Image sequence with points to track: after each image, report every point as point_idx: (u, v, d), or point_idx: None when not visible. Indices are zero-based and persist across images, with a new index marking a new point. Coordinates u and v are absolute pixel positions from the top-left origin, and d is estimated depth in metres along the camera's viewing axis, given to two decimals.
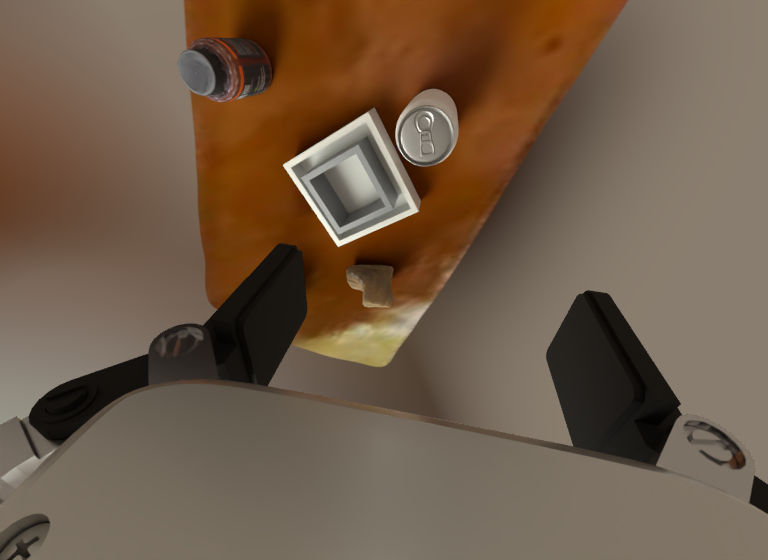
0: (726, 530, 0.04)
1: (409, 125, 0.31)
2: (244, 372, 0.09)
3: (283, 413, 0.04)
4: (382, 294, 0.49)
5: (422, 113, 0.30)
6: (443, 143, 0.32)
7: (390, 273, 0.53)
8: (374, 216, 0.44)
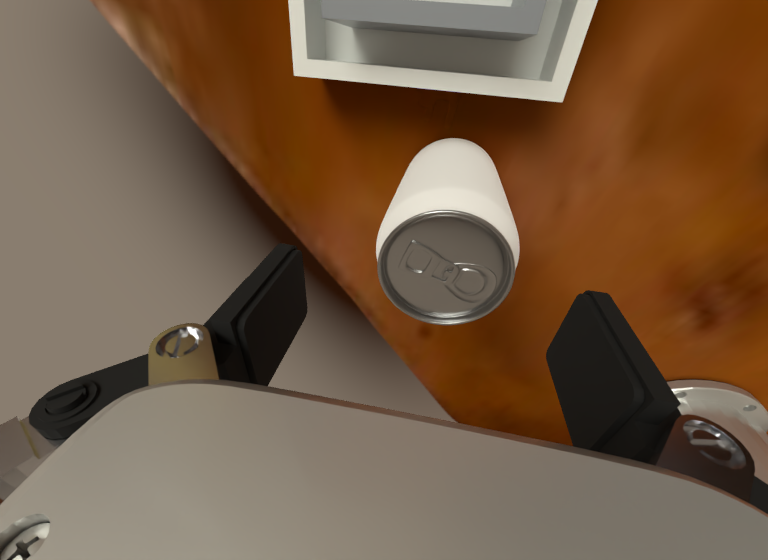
0: (726, 530, 0.04)
1: (487, 258, 0.13)
2: (244, 372, 0.09)
3: (283, 413, 0.04)
4: None
5: (488, 290, 0.14)
6: (407, 290, 0.14)
7: None
8: None
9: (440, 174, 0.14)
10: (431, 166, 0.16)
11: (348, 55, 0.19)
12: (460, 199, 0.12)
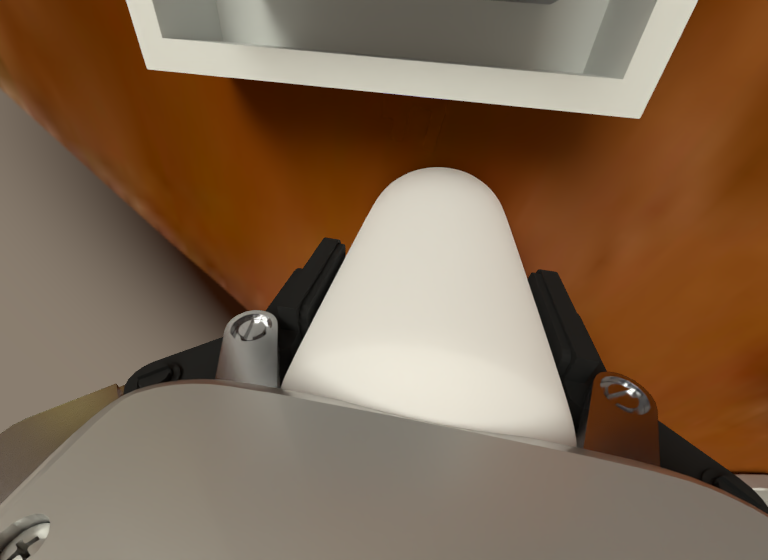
0: (726, 530, 0.04)
1: None
2: None
3: (283, 413, 0.04)
4: None
5: None
6: None
7: None
8: None
9: (402, 281, 0.07)
10: (391, 244, 0.08)
11: (258, 34, 0.11)
12: (442, 386, 0.05)
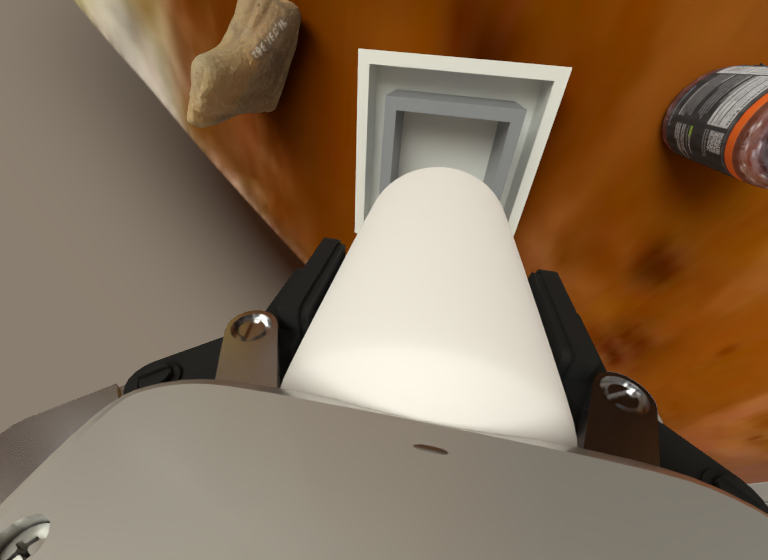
0: (726, 530, 0.04)
1: None
2: None
3: (283, 413, 0.04)
4: (221, 112, 0.22)
5: None
6: None
7: (262, 111, 0.26)
8: (381, 188, 0.25)
9: (402, 281, 0.07)
10: (391, 244, 0.08)
11: None
12: (442, 388, 0.05)
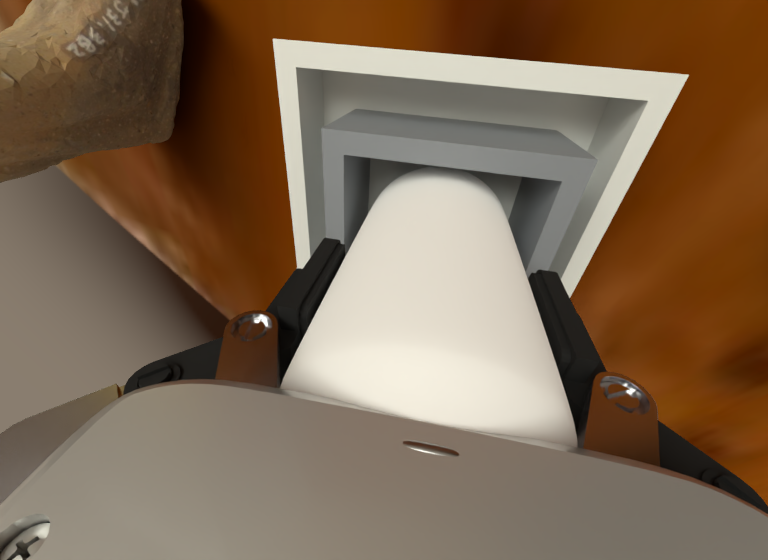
0: (726, 530, 0.04)
1: None
2: None
3: (283, 413, 0.04)
4: (15, 159, 0.12)
5: None
6: None
7: (140, 143, 0.16)
8: None
9: (402, 280, 0.07)
10: (391, 243, 0.08)
11: None
12: (442, 386, 0.05)
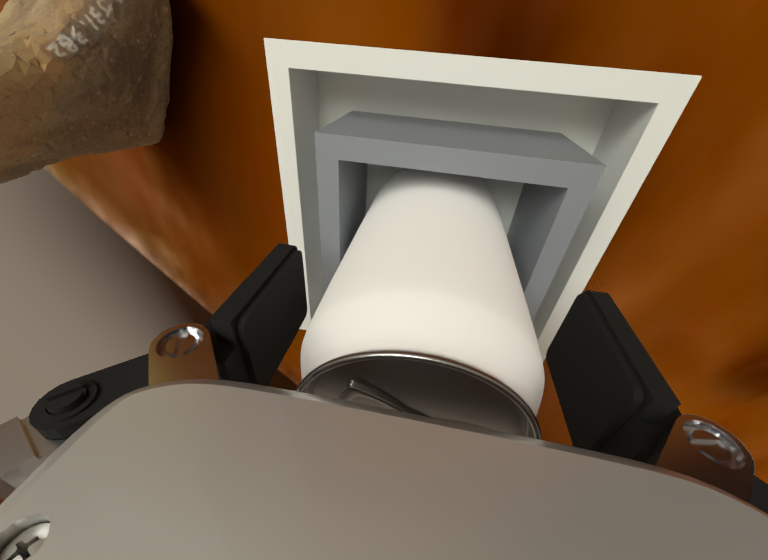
0: (726, 530, 0.04)
1: (490, 418, 0.07)
2: (244, 372, 0.09)
3: (283, 413, 0.04)
4: None
5: None
6: None
7: (129, 146, 0.16)
8: (327, 284, 0.14)
9: (407, 246, 0.08)
10: (396, 221, 0.10)
11: None
12: (438, 318, 0.06)
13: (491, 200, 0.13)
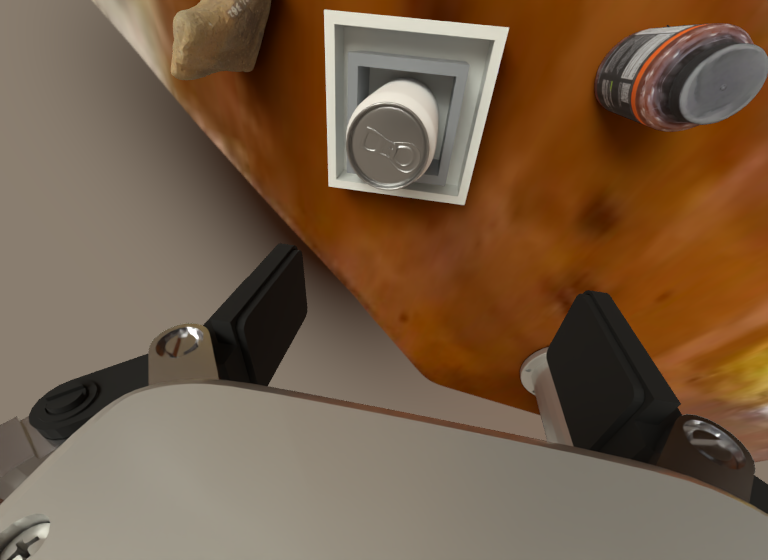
0: (726, 530, 0.04)
1: (413, 137, 0.21)
2: (244, 372, 0.09)
3: (283, 413, 0.04)
4: (202, 66, 0.24)
5: (416, 162, 0.22)
6: (366, 165, 0.22)
7: (240, 70, 0.29)
8: None
9: (386, 88, 0.22)
10: (383, 87, 0.23)
11: None
12: (395, 98, 0.20)
13: (430, 93, 0.27)
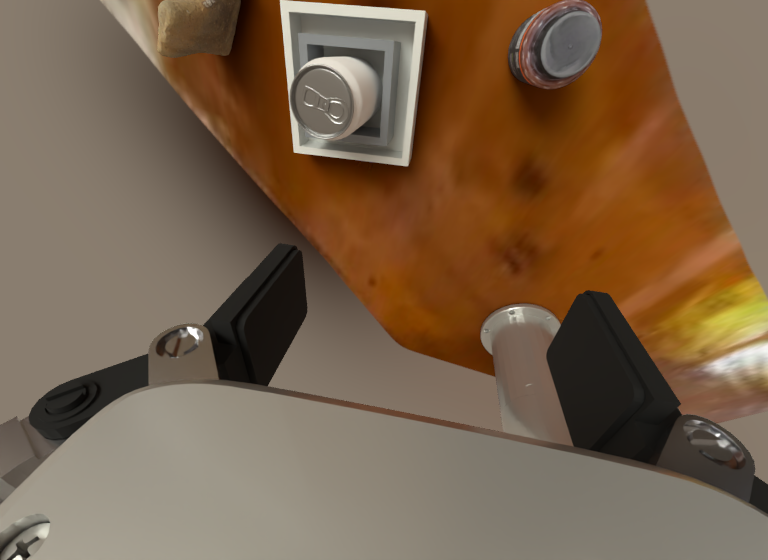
0: (726, 530, 0.04)
1: (341, 93, 0.26)
2: (244, 372, 0.09)
3: (283, 413, 0.04)
4: (182, 45, 0.30)
5: (345, 114, 0.27)
6: (308, 118, 0.28)
7: (218, 53, 0.35)
8: None
9: None
10: None
11: (319, 139, 0.40)
12: (325, 62, 0.26)
13: (370, 68, 0.33)
